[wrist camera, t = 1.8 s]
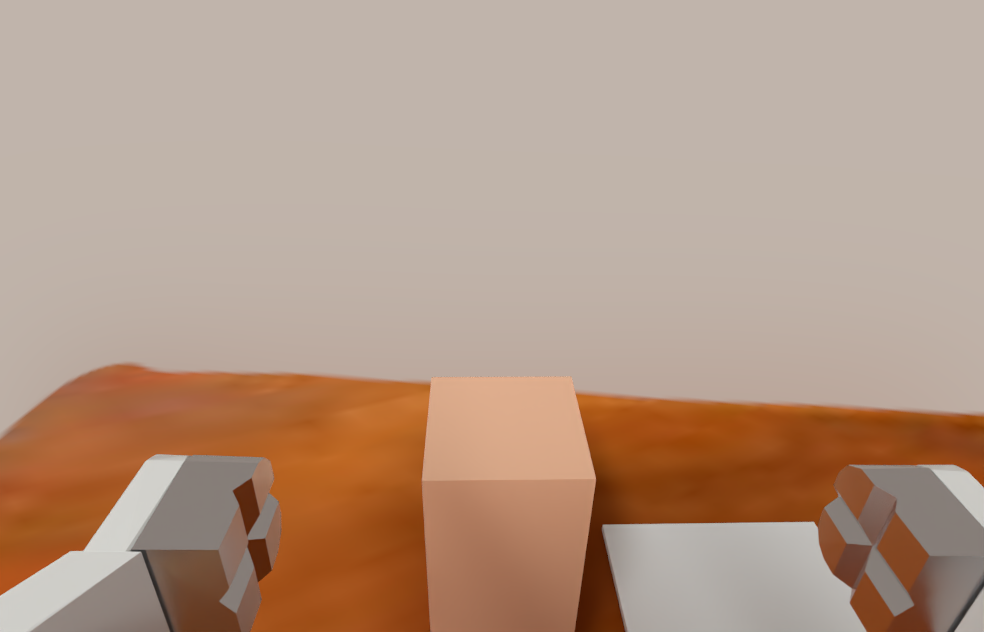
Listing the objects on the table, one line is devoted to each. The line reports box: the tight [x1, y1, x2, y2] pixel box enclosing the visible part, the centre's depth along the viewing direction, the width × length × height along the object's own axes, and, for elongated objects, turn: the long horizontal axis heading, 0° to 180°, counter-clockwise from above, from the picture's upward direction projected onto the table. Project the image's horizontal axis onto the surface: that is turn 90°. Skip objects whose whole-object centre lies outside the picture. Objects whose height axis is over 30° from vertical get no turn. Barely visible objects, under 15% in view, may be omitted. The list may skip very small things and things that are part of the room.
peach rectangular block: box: [422, 377, 596, 632], centre depth 26 cm, size 6×6×12 cm
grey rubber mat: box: [602, 522, 867, 632], centre depth 29 cm, size 12×12×1 cm
